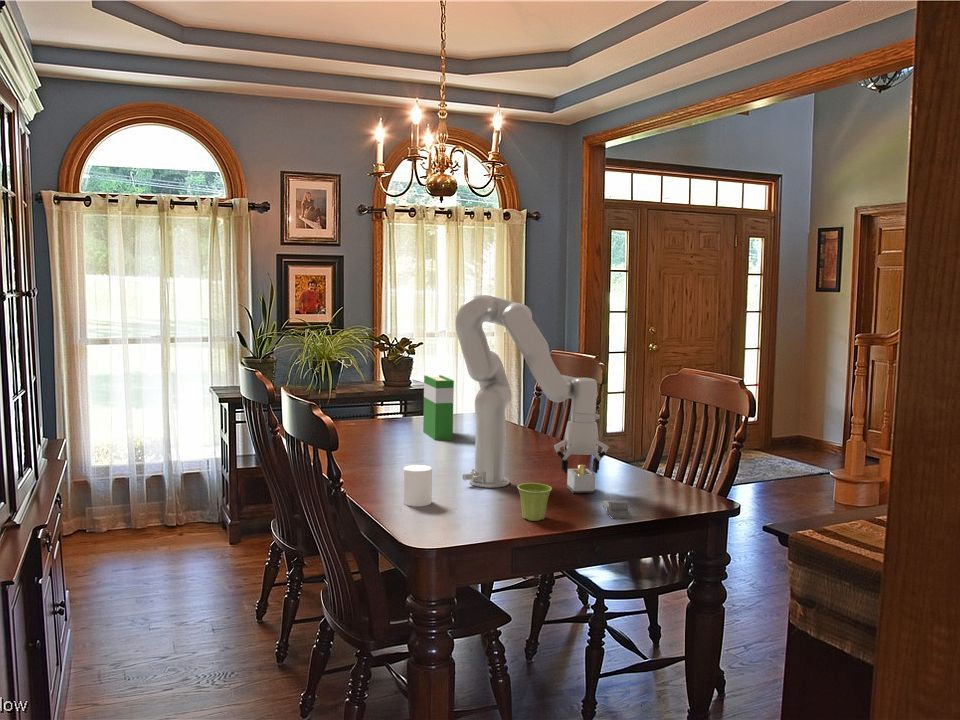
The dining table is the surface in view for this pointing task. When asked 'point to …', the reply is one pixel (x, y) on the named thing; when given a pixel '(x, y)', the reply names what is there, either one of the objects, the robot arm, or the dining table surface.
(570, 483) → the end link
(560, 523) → the dining table surface
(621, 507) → the grey boxy piece
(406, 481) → the white cylinder
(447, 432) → the hardback book
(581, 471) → the yellow peg stand
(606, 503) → the slack link
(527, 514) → the plant pot
